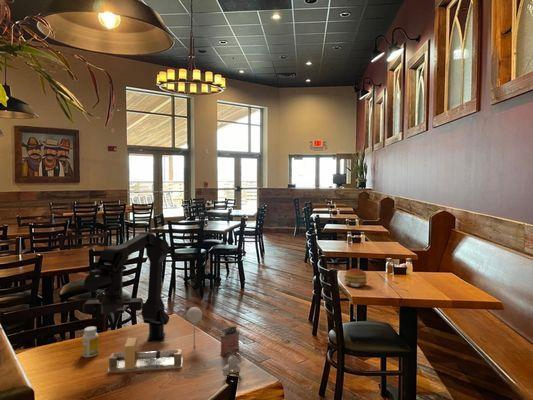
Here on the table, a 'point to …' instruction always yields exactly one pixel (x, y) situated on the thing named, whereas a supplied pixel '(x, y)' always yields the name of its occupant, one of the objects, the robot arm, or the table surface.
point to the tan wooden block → (130, 353)
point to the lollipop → (194, 317)
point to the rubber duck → (231, 365)
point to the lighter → (229, 341)
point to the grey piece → (147, 361)
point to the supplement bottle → (90, 342)
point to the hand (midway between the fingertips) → (114, 329)
